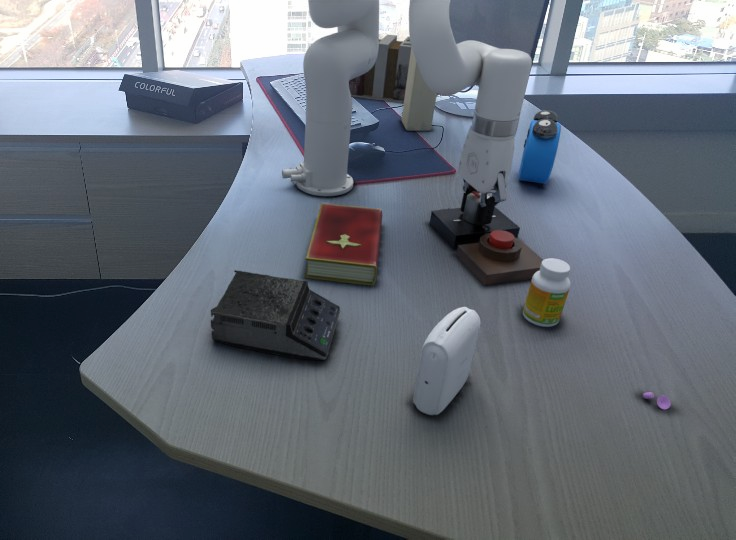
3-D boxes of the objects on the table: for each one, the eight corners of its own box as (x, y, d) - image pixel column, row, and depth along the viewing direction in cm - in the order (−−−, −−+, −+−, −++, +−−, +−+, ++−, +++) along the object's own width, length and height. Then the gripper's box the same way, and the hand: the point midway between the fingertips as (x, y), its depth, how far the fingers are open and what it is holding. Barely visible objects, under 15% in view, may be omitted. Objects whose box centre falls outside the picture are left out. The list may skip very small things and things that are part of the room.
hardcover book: (381, 227, 124) (383, 207, 122) (375, 285, 107) (378, 264, 105) (320, 220, 126) (321, 201, 124) (304, 277, 109) (305, 256, 107)
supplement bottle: (541, 331, 97) (558, 278, 91) (514, 313, 101) (528, 260, 95) (566, 321, 99) (584, 269, 94) (539, 303, 103) (554, 252, 98)
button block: (484, 285, 107) (488, 265, 105) (455, 255, 115) (459, 236, 113) (547, 277, 109) (553, 257, 107) (515, 248, 118) (520, 229, 115)
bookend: (349, 80, 207) (353, 28, 198) (427, 89, 199) (434, 35, 190) (335, 94, 195) (339, 39, 186) (417, 104, 187) (425, 48, 178)
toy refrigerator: (434, 131, 169) (447, 49, 157) (406, 131, 169) (417, 49, 157) (427, 120, 175) (439, 42, 164) (401, 120, 175) (411, 41, 164)
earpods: (659, 412, 85) (664, 400, 85) (667, 412, 83) (672, 400, 83) (638, 399, 85) (644, 388, 85) (646, 399, 83) (651, 387, 84)
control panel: (453, 249, 117) (456, 234, 115) (429, 224, 125) (431, 209, 124) (516, 241, 120) (520, 227, 118) (488, 217, 128) (492, 203, 126)
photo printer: (437, 421, 81) (453, 346, 74) (407, 406, 83) (420, 331, 77) (471, 379, 88) (489, 307, 81) (442, 366, 90) (458, 294, 83)
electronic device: (326, 365, 90) (329, 331, 87) (210, 343, 94) (209, 310, 91) (340, 316, 100) (343, 284, 96) (234, 298, 104) (234, 267, 100)
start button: (496, 251, 110) (498, 242, 109) (484, 239, 113) (485, 231, 112) (516, 248, 110) (519, 239, 109) (504, 237, 114) (506, 228, 113)
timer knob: (491, 223, 119) (496, 199, 117) (469, 225, 119) (474, 202, 116) (479, 212, 123) (484, 189, 120) (458, 214, 122) (463, 192, 120)
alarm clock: (545, 194, 137) (563, 127, 128) (515, 189, 139) (531, 123, 130) (546, 171, 147) (563, 107, 139) (518, 167, 149) (533, 104, 141)
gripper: (451, 110, 117) (436, 200, 127) (501, 144, 103) (479, 241, 113) (488, 107, 118) (471, 196, 128) (542, 140, 105) (517, 236, 114)
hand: (475, 216), depth 121 cm, fingers closed on timer knob, 4 cm apart
